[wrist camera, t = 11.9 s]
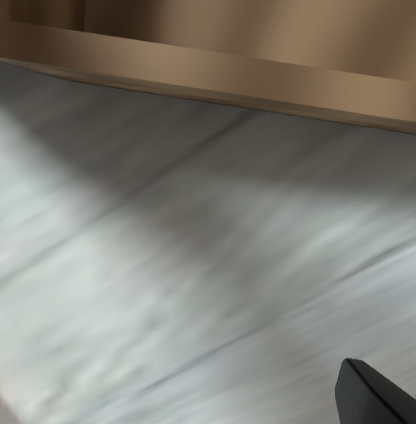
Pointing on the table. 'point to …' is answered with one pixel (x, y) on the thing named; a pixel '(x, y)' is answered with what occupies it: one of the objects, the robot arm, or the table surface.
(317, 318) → the table surface
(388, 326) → the table surface
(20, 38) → the crate
